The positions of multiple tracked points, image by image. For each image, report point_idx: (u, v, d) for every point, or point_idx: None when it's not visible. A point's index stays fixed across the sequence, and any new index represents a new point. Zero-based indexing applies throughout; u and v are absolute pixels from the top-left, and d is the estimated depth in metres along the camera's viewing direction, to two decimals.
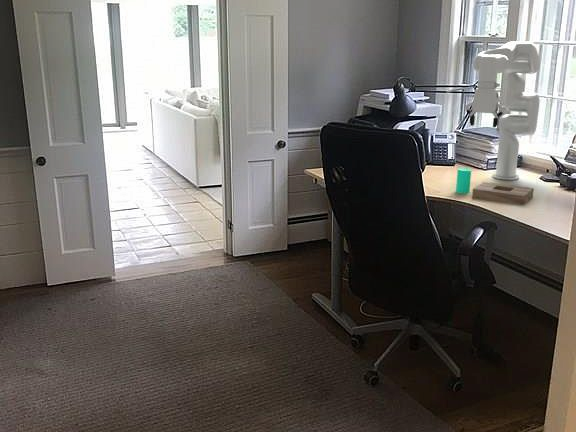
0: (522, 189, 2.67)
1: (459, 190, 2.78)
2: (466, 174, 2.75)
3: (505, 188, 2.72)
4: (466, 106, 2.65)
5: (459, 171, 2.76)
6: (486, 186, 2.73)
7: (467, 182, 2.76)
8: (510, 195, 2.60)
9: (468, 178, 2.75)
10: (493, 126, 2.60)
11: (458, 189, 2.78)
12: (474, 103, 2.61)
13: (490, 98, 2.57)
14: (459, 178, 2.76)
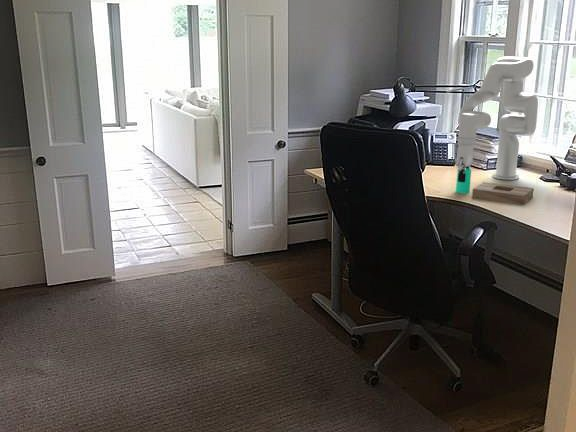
0: (522, 189, 2.67)
1: (459, 190, 2.78)
2: (466, 174, 2.75)
3: (505, 188, 2.72)
4: (461, 167, 2.71)
5: None
6: (486, 186, 2.73)
7: (467, 182, 2.76)
8: (510, 195, 2.60)
9: (468, 178, 2.75)
10: None
11: (458, 189, 2.78)
12: (467, 159, 2.71)
13: (472, 151, 2.75)
14: None
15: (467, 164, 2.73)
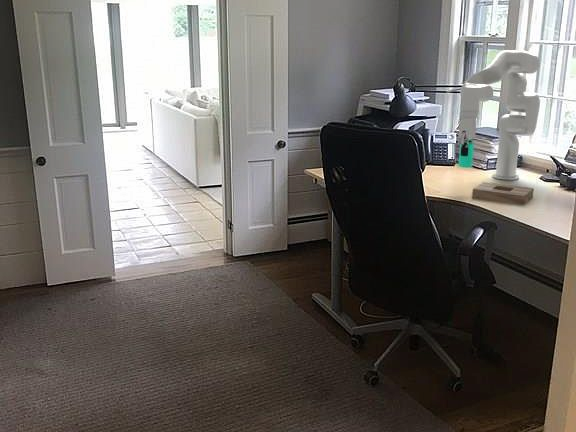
0: (522, 189, 2.67)
1: (462, 164, 2.75)
2: (468, 148, 2.72)
3: (505, 188, 2.72)
4: (463, 140, 2.68)
5: None
6: (486, 186, 2.73)
7: (470, 156, 2.73)
8: (510, 195, 2.60)
9: (471, 152, 2.72)
10: None
11: (461, 163, 2.75)
12: (469, 133, 2.68)
13: (475, 125, 2.72)
14: None
15: (470, 138, 2.70)
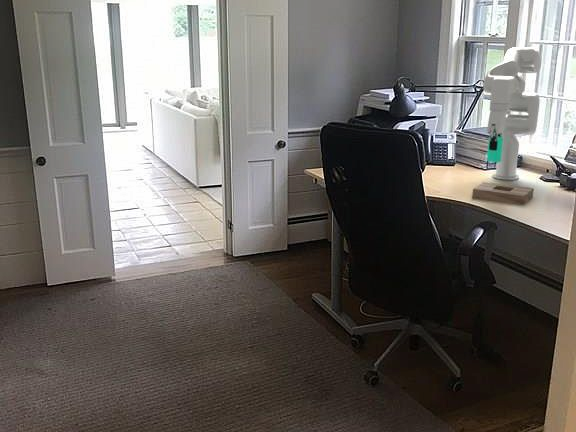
0: (522, 189, 2.67)
1: (490, 159, 2.66)
2: (497, 142, 2.63)
3: (505, 188, 2.72)
4: (493, 134, 2.60)
5: None
6: (486, 186, 2.73)
7: (499, 150, 2.64)
8: (510, 195, 2.60)
9: (500, 146, 2.64)
10: None
11: (489, 158, 2.67)
12: (499, 126, 2.60)
13: (505, 118, 2.64)
14: None
15: (499, 131, 2.61)
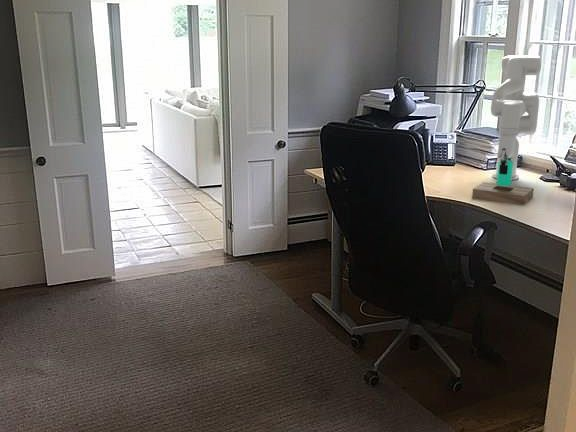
0: (522, 189, 2.67)
1: (500, 183, 2.66)
2: (508, 166, 2.63)
3: (505, 188, 2.72)
4: (503, 158, 2.60)
5: None
6: (486, 186, 2.73)
7: (509, 174, 2.65)
8: (510, 195, 2.60)
9: (510, 170, 2.64)
10: None
11: (499, 181, 2.67)
12: (509, 150, 2.60)
13: (515, 142, 2.64)
14: None
15: (509, 155, 2.61)
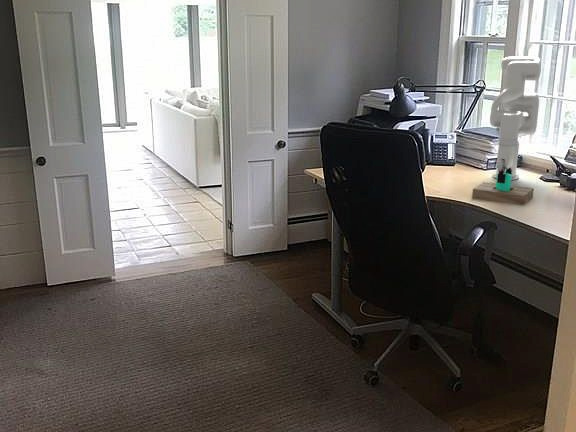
0: (522, 189, 2.67)
1: None
2: (506, 179, 2.65)
3: None
4: (502, 166, 2.59)
5: None
6: (486, 186, 2.73)
7: (507, 187, 2.66)
8: (510, 195, 2.60)
9: (508, 183, 2.66)
10: None
11: None
12: (508, 161, 2.61)
13: (514, 153, 2.65)
14: (499, 183, 2.67)
15: (508, 166, 2.63)
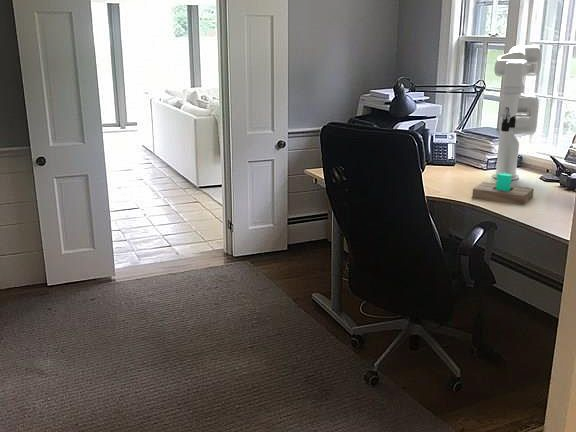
0: (522, 189, 2.67)
1: None
2: (506, 179, 2.65)
3: None
4: (506, 114, 2.63)
5: (499, 176, 2.66)
6: (486, 186, 2.73)
7: (507, 188, 2.66)
8: (510, 195, 2.60)
9: (508, 183, 2.66)
10: (514, 126, 2.75)
11: None
12: (512, 109, 2.65)
13: (517, 101, 2.69)
14: (499, 183, 2.67)
15: (512, 114, 2.66)
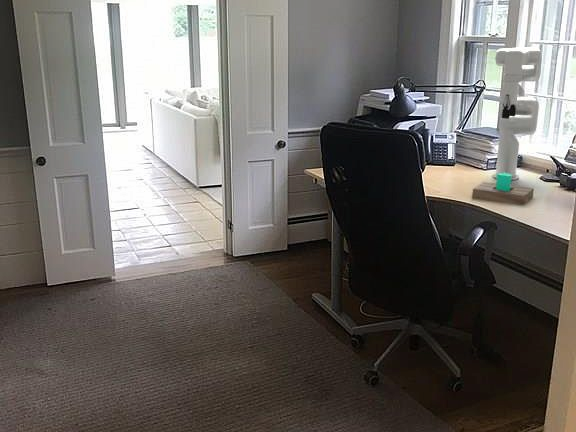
0: (522, 189, 2.67)
1: None
2: (506, 179, 2.65)
3: None
4: (506, 100, 2.67)
5: (499, 176, 2.66)
6: (486, 186, 2.73)
7: (507, 187, 2.66)
8: (510, 195, 2.60)
9: (508, 183, 2.66)
10: (515, 115, 2.79)
11: None
12: (513, 96, 2.69)
13: (518, 89, 2.73)
14: (499, 183, 2.67)
15: (513, 102, 2.71)
